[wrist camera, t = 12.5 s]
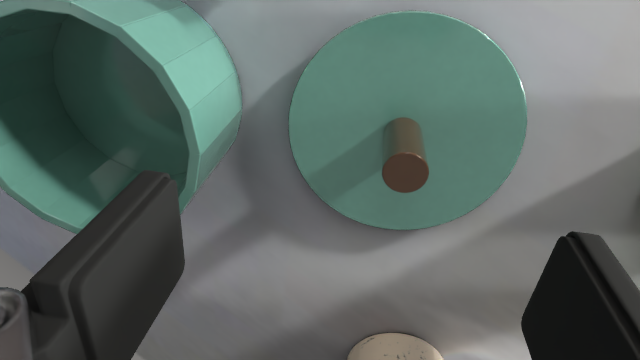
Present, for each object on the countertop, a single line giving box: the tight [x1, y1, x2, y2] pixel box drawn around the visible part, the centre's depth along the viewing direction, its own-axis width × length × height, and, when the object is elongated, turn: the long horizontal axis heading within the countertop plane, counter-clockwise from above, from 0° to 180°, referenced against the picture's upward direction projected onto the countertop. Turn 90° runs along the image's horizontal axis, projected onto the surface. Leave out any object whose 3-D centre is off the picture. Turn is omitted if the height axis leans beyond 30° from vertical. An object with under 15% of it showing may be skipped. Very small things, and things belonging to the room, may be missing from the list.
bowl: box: [0, 0, 242, 234], centre depth 25 cm, size 13×13×8 cm
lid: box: [289, 10, 527, 230], centre depth 25 cm, size 14×14×6 cm
